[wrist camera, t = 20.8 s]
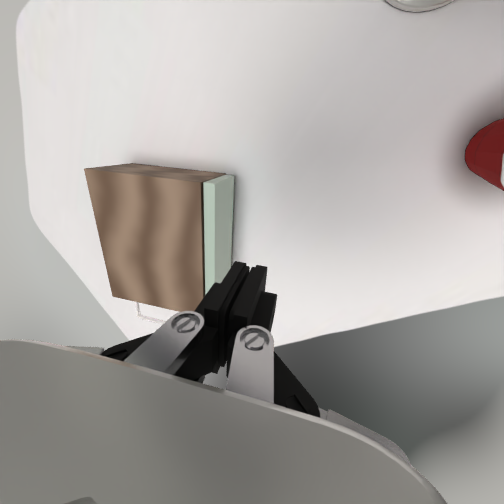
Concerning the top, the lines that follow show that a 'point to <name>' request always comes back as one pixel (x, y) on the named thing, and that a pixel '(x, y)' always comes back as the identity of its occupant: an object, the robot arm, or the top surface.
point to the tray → (218, 228)
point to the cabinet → (152, 232)
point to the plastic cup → (488, 153)
